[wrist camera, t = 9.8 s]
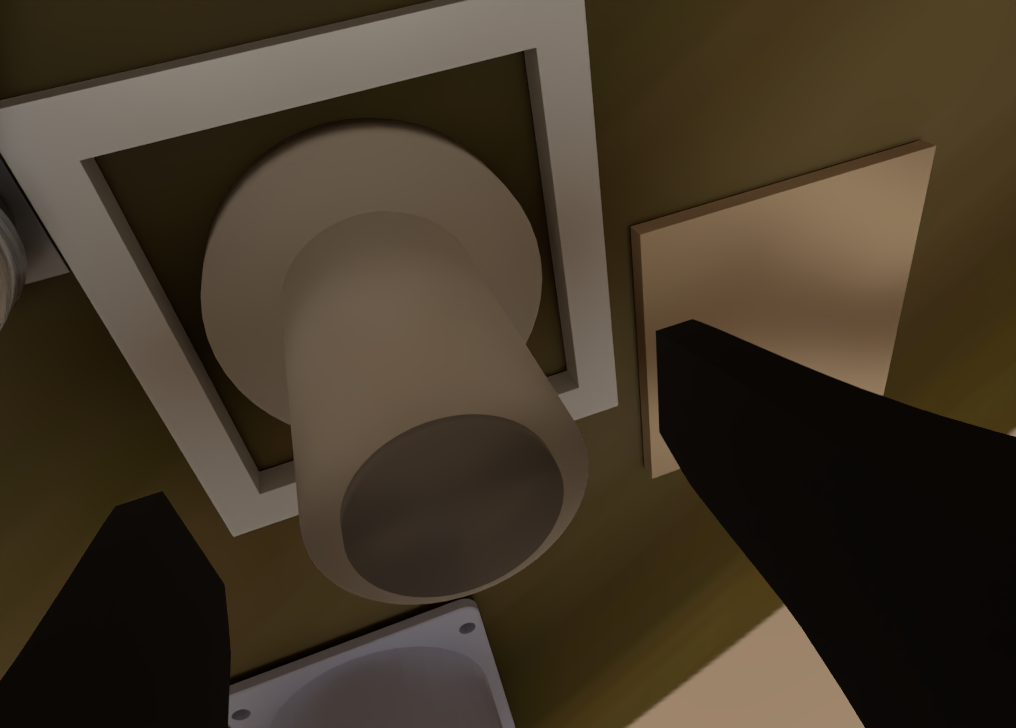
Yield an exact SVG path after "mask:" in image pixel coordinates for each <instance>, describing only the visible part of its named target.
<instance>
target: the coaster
mask: <svg viewBox="0 0 1016 728" xmlns="http://www.w3.org/2000/svg"><path fill="white" fill-rule="evenodd" d="M935 149H936V145H933V144H930V143H927V142H924V141H921V140H919V141H916V142H912V143H909V144H906V145H902V146H899V147H896V148H892V149H889V150H886V151H882V152H879V153H876V154H872V155H869V156H865V157H862V158H859V159H855V160H852V161H849V162H845V163H842V164H839V165H835V166H832V167H829V168H825V169H822V170H819V171H815V172H812V173H808V174H805V175H802V176H798V177H795V178H792V179H788V180H785V181H782V182H778V183H775V184H772V185H768V186H765V187H761V188H758V189H755V190H751V191H748V192H745V193H741V194H738V195H735V196H731V197H728V198H725V199H721V200H718V201H715V202H711V203H708V204H704V205H701V206H698V207H694V208H691V209H688V210H684V211H681V212H678V213H674V214H671V215H668V216H664V217H661V218H657V219H654V220H651V221H647V222H644V223H641V224H637V225H634V226H631V244H632V261H633V278H634V296H635V313H636V330H637V347H638V364H639V382H640V399H641V416H642V433H643V450H644V468H645V469H646V471H647V472H648V473H649V475H650V476H651V478H652V479H653V478H656V477H658V476H661V475H664V474H667V473H669V472H672V471H675V470H678V469H680V467H679V465H678V464H677V462H676V460H675V459H674V457H673V455H672V453H671V452H670V450H669V448H668V447H667V445H666V443H665V441H664V440H663V438H662V436H661V434H660V433H659V413H658V384H657V356H656V331H657V330H660V329H663V328H666V327H669V326H672V325H675V324H678V323H682V322H685V321H688V320H691V319H694V320H697V321H700V322H702V323H705V324H707V325H710V326H712V327H715V328H717V329H720V330H722V331H724V332H727V333H729V334H731V335H734V336H736V337H738V338H741V339H743V340H745V341H748V342H750V343H752V344H754V345H757V346H759V347H761V348H764V349H766V350H768V351H771V352H773V353H775V354H778V355H780V356H782V357H785V358H787V359H789V360H792V361H794V362H796V363H799V364H801V365H804V366H806V367H808V368H811V369H813V370H816V371H818V372H821V373H823V374H826V375H828V376H831V377H833V378H836V379H838V380H841V381H843V382H846V383H849V384H851V385H854V386H856V387H859V388H862V389H864V390H867V391H870V392H873V393H876V394H878V395H881V396H882V395H883V394H884V390H885V385H886V380H887V375H888V371H889V366H890V361H891V357H892V352H893V347H894V342H895V338H896V333H897V328H898V324H899V319H900V314H901V309H902V305H903V300H904V295H905V290H906V286H907V281H908V276H909V272H910V267H911V262H912V257H913V253H914V248H915V243H916V239H917V234H918V229H919V224H920V220H921V215H922V210H923V206H924V201H925V196H926V191H927V187H928V182H929V177H930V172H931V168H932V163H933V158H934V154H935Z"/></svg>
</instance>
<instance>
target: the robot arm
mask: <svg viewBox="0 0 1016 728" xmlns="http://www.w3.org/2000/svg"><path fill="white" fill-rule="evenodd" d="M656 356H657V384H658V413H659V433H660V434H661V436H662V438H663V440H664V441H665V443H666V445H667V447H668V448H669V450H670V452H671V453H672V455H673V457H674V459H675V460H676V462H677V464H678V465H679V467H680V469H681V470H682V472H683V473H684V475H685V477H686V478H687V480H688V481H689V483H690V485H691V486H692V487H693V489H694V490H695V491H696V493H697V494H698V495H699V497H700V498H701V499H702V500H703V502H704V503H705V504H706V506H707V507H708V508H709V509H710V511H711V512H712V513H713V515H714V516H715V517H716V518H717V520H718V521H719V522H720V523H721V525H722V526H723V527H724V529H725V530H726V531H727V532H728V534H729V535H730V536H731V537H732V539H733V540H734V541H735V542H736V544H737V545H738V546H739V547H740V549H741V550H742V551H743V552H744V554H745V555H746V556H747V557H748V559H749V560H750V561H751V562H752V564H753V565H754V566H755V567H756V569H757V570H758V571H759V572H760V574H761V575H762V576H763V577H764V579H765V580H766V581H767V582H768V584H769V585H770V586H771V588H772V589H773V590H774V591H775V593H776V594H777V595H778V596H779V598H780V599H781V600H782V601H783V603H784V604H785V606H786V607H787V608H788V610H789V611H790V612H791V614H792V615H793V616H794V618H795V619H796V621H797V622H798V623H799V625H800V626H801V627H802V629H803V630H804V632H805V634H806V635H807V637H808V638H809V640H810V641H811V643H812V644H813V646H814V647H815V649H816V651H817V652H818V654H819V655H820V657H821V658H822V659H823V661H824V663H825V664H826V666H827V667H828V669H829V671H830V672H831V674H832V675H833V677H834V678H835V680H836V682H837V683H838V685H839V686H840V687H841V689H842V691H843V693H844V694H845V696H846V697H847V699H848V700H849V702H850V704H851V705H852V707H853V709H854V710H855V712H856V714H857V715H858V717H859V719H860V720H861V722H862V723H863V725H864V727H865V728H1016V437H1014V436H1010V435H1006V434H1003V433H999V432H995V431H992V430H989V429H985V428H982V427H978V426H975V425H971V424H968V423H964V422H961V421H957V420H954V419H950V418H947V417H943V416H940V415H937V414H934V413H931V412H928V411H925V410H921V409H918V408H915V407H912V406H909V405H906V404H904V403H901V402H898V401H895V400H892V399H890V398H887V397H884V396H881V395H878V394H876V393H873V392H870V391H867V390H864V389H862V388H859V387H856V386H854V385H851V384H849V383H846V382H843V381H841V380H838V379H836V378H833V377H831V376H828V375H826V374H823V373H821V372H818V371H816V370H813V369H811V368H808V367H806V366H804V365H801V364H799V363H796V362H794V361H792V360H789V359H787V358H785V357H782V356H780V355H778V354H775V353H773V352H771V351H768V350H766V349H764V348H761V347H759V346H757V345H754V344H752V343H750V342H748V341H745V340H743V339H741V338H738V337H736V336H734V335H731V334H729V333H727V332H724V331H722V330H720V329H717V328H715V327H712V326H710V325H707V324H705V323H702V322H700V321H697V320H694V319H691V320H688V321H685V322H682V323H678V324H675V325H672V326H669V327H666V328H663V329H660V330H657V331H656ZM230 662H231V651H230V638H229V625H228V615H227V605H226V595H225V586H224V583H223V582H222V580H221V579H220V577H219V576H218V574H217V573H216V571H215V570H214V568H213V567H212V565H211V564H210V562H209V561H208V559H207V558H206V556H205V555H204V553H203V552H202V550H201V549H200V547H199V546H198V544H197V543H196V541H195V540H194V538H193V536H192V535H191V533H190V532H189V530H188V529H187V527H186V526H185V524H184V523H183V521H182V520H181V518H180V517H179V515H178V514H177V512H176V511H175V509H174V508H173V506H172V505H171V503H170V502H169V500H168V499H167V497H166V496H165V494H164V493H163V491H162V492H158V493H155V494H152V495H149V496H146V497H143V498H140V499H137V500H134V501H131V502H128V503H125V504H122V505H118V506H115V508H114V509H113V511H112V512H111V514H110V515H109V516H108V518H107V519H106V521H105V522H104V524H103V525H102V527H101V528H100V530H99V532H98V533H97V535H96V536H95V538H94V539H93V541H92V542H91V544H90V546H89V547H88V549H87V550H86V552H85V553H84V555H83V557H82V558H81V560H80V561H79V563H78V564H77V566H76V568H75V569H74V571H73V572H72V574H71V575H70V577H69V579H68V580H67V582H66V583H65V585H64V586H63V588H62V590H61V591H60V593H59V594H58V596H57V597H56V599H55V600H54V602H53V603H52V605H51V606H50V608H49V610H48V611H47V613H46V614H45V616H44V617H43V619H42V620H41V622H40V623H39V625H38V626H37V628H36V629H35V631H34V632H33V634H32V636H31V637H30V639H29V640H28V642H27V643H26V645H25V646H24V648H23V649H22V651H21V652H20V654H19V655H18V657H17V658H16V660H15V661H14V662H13V664H12V665H11V667H10V668H9V669H8V671H7V672H6V674H5V675H4V676H3V678H2V679H1V681H0V728H228V725H229V726H230V728H515V725H514V722H513V718H512V715H511V712H510V709H509V706H508V702H507V699H506V696H505V693H504V690H503V686H502V683H501V680H500V677H499V674H498V670H497V667H496V664H495V661H494V658H493V654H492V651H491V648H490V645H489V642H488V638H487V635H486V632H485V629H484V626H483V622H482V619H481V616H480V613H479V610H478V607H477V604H476V603H475V601H473V600H471V599H460V600H457V601H454V602H451V603H449V604H446V605H443V606H441V607H438V608H435V609H433V610H430V611H427V612H425V613H422V614H419V615H417V616H414V617H411V618H409V619H406V620H403V621H401V622H398V623H395V624H393V625H390V626H387V627H385V628H382V629H379V630H377V631H374V632H371V633H369V634H366V635H363V636H361V637H358V638H355V639H353V640H350V641H347V642H345V643H342V644H339V645H337V646H334V647H331V648H329V649H326V650H323V651H321V652H318V653H315V654H313V655H310V656H307V657H305V658H302V659H299V660H297V661H294V662H291V663H288V664H286V665H283V666H280V667H278V668H275V669H272V670H270V671H267V672H264V673H262V674H259V675H256V676H254V677H251V678H248V679H246V680H243V681H240V682H238V683H235V684H232V685H230Z"/></svg>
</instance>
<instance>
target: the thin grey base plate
mask: <svg viewBox="0 0 1016 728" xmlns="http://www.w3.org/2000/svg"><path fill="white" fill-rule="evenodd" d="M0 208H1V210H2V211H3V212H4V213H5V214H6V215H7V217H8V218H9V220H10V221H11V222H12V224H13V225H14V227H15V229H16V231H17V232H18V234H19V236H20V238H21V241H22V244H23V247H24V250H25V255H26V260H27V275H26V281H25V284H28V283H32V282H35V281H39V280H43V279H46V278H50V277H54V276H57V275H61V274H65V273H69V272H70V270H71V268H70V267H69V265H68V263H67V262H66V260H65V258H64V257H63V255H62V253H61V252H60V250H59V248H58V247H57V245H56V243H55V242H54V240H53V238H52V237H51V235H50V233H49V232H48V230H47V229H46V227H45V225H44V224H43V222H42V220H41V219H40V217H39V215H38V214H37V212H36V210H35V209H34V207H33V205H32V204H31V202H30V200H29V199H28V197H27V196H26V194H25V192H24V191H23V189H22V187H21V186H20V184H19V182H18V181H17V179H16V177H15V176H14V174H13V172H12V171H11V169H10V167H9V166H8V164H7V163H6V161H5V159H4V158H3V156H2V154H1V153H0Z"/></svg>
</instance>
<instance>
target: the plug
mask: <svg viewBox="0 0 1016 728" xmlns="http://www.w3.org/2000/svg"><path fill="white" fill-rule="evenodd" d="M541 290H542V268H541V258H540V253H539V249H538V244H537V240H536V237H535V235H534V232H533V229H532V227H531V224H530V222H529V220H528V218H527V216H526V214H525V213H524V211H523V209H522V207H521V206H520V204H519V203H518V201H517V200H516V199H515V197H514V196H513V195H512V194H511V192H510V191H509V190H508V188H507V187H506V186H505V185H504V184H503V183H502V182H501V181H500V180H499V179H498V178H497V176H496V175H495V174H494V173H493V172H492V171H491V170H490V169H489V168H488V167H487V166H486V165H485V164H484V163H483V162H482V161H481V160H480V159H479V158H478V157H477V156H476V155H474V154H473V153H472V152H470V151H469V150H468V149H466V148H465V147H464V146H462V145H461V144H459V143H458V142H456V141H454V140H452V139H450V138H449V137H447V136H445V135H443V134H441V133H439V132H436V131H434V130H431V129H428V128H426V127H423V126H420V125H417V124H412V123H408V122H403V121H399V120H391V119H379V118H363V119H348V120H342V121H337V122H331V123H326V124H323V125H320V126H317V127H314V128H311V129H308V130H305V131H302V132H300V133H298V134H296V135H294V136H292V137H290V138H288V139H286V140H284V141H282V142H280V143H279V144H277V145H276V146H274V147H273V148H271V149H270V150H268V151H267V152H265V153H264V154H262V155H261V156H260V157H259V158H258V159H257V160H255V161H254V162H253V163H252V164H251V165H250V166H249V167H248V168H247V169H246V170H244V172H243V173H242V174H241V175H240V176H239V178H238V179H237V180H236V181H235V183H234V184H233V185H232V186H231V187H230V189H229V190H228V192H227V194H226V195H225V197H224V199H223V200H222V202H221V204H220V205H219V207H218V209H217V212H216V214H215V217H214V219H213V222H212V224H211V226H210V230H209V234H208V238H207V242H206V247H205V254H204V263H203V272H202V284H201V308H202V318H203V322H204V327H205V331H206V335H207V338H208V341H209V343H210V346H211V348H212V350H213V353H214V355H215V357H216V359H217V361H218V362H219V364H220V366H221V367H222V369H223V370H224V372H225V374H226V375H227V376H228V377H229V379H230V380H231V381H232V382H233V384H234V385H235V386H236V387H237V388H238V390H239V391H241V392H242V393H243V394H244V395H245V396H246V397H247V398H248V399H249V400H250V401H252V402H253V403H254V404H255V405H257V406H258V407H260V408H261V409H262V410H264V411H265V412H267V413H268V414H270V415H271V416H273V417H275V418H277V419H279V420H281V421H283V422H285V423H287V424H289V425H291V434H292V445H293V456H294V467H295V478H296V489H297V500H298V511H299V522H300V530H301V535H302V541H303V544H304V546H305V548H306V551H307V553H308V555H309V557H310V558H311V560H312V562H313V563H314V565H315V566H316V567H317V568H318V569H319V571H320V572H321V573H322V574H323V575H324V576H325V577H326V578H328V579H329V580H330V581H332V582H333V583H334V584H335V585H337V586H339V587H340V588H342V589H344V590H346V591H348V592H350V593H352V594H355V595H357V596H360V597H362V598H365V599H369V600H374V601H378V602H383V603H391V604H406V605H416V604H430V603H437V602H443V601H449V600H453V599H457V598H461V597H465V596H468V595H471V594H474V593H477V592H480V591H482V590H485V589H487V588H489V587H492V586H494V585H496V584H498V583H500V582H502V581H504V580H506V579H508V578H510V577H511V576H513V575H515V574H516V573H518V572H519V571H521V570H523V569H524V568H526V567H527V566H528V565H530V564H531V563H532V562H534V561H535V560H536V559H538V558H539V557H540V556H541V555H542V554H543V553H544V552H545V551H546V550H548V549H549V548H550V547H551V546H552V545H553V544H554V542H555V541H556V540H557V539H558V538H559V537H560V536H561V535H562V533H563V532H564V531H565V529H566V528H567V527H568V525H569V524H570V522H571V521H572V519H573V517H574V516H575V514H576V512H577V510H578V508H579V506H580V504H581V501H582V499H583V497H584V493H585V489H586V486H587V481H588V473H589V459H588V452H587V447H586V443H585V440H584V438H583V436H582V433H581V431H580V429H579V427H578V426H577V424H576V423H575V421H574V420H573V418H572V416H571V415H570V413H569V412H568V410H567V409H566V407H565V405H564V404H563V402H562V401H561V399H560V398H559V396H558V394H557V393H556V391H555V390H554V388H553V387H552V385H551V383H550V382H549V380H548V379H547V377H546V376H545V374H544V372H543V371H542V369H541V368H540V366H539V365H538V363H537V361H536V360H535V358H534V357H533V355H532V354H531V352H530V351H529V349H528V347H527V346H526V343H527V341H528V338H529V336H530V334H531V332H532V329H533V326H534V323H535V320H536V317H537V314H538V309H539V304H540V299H541Z"/></svg>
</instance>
